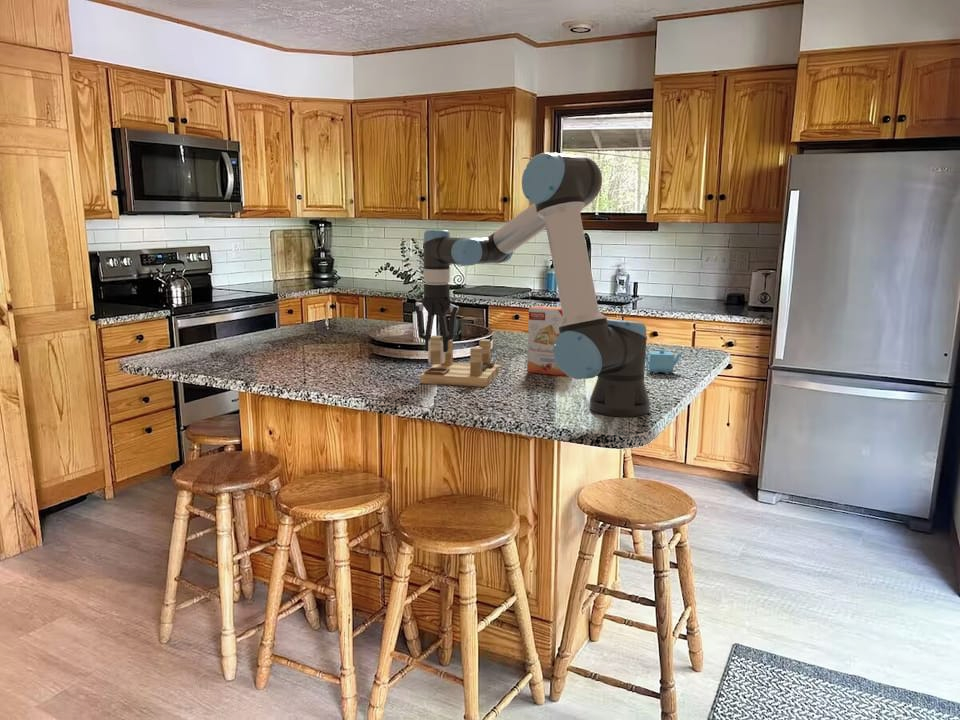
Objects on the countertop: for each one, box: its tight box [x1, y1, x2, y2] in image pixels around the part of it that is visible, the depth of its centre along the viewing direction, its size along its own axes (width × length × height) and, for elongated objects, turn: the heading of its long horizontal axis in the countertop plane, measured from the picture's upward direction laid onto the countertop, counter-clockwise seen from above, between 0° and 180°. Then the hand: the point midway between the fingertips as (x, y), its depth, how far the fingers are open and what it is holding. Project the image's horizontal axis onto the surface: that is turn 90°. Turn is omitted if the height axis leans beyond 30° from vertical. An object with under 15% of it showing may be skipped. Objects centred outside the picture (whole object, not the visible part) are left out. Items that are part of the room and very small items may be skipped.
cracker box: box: [526, 305, 568, 377], centre depth 224 cm, size 14×6×21 cm, turn 68°
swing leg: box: [478, 338, 492, 370], centre depth 218 cm, size 11×3×8 cm, turn 167°
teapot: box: [645, 348, 685, 375], centre depth 227 cm, size 12×6×8 cm, turn 80°
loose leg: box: [430, 335, 443, 365], centre depth 212 cm, size 3×3×8 cm
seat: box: [419, 338, 500, 388], centre depth 218 cm, size 20×20×10 cm
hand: (436, 362), depth 213 cm, fingers closed on loose leg, 3 cm apart
